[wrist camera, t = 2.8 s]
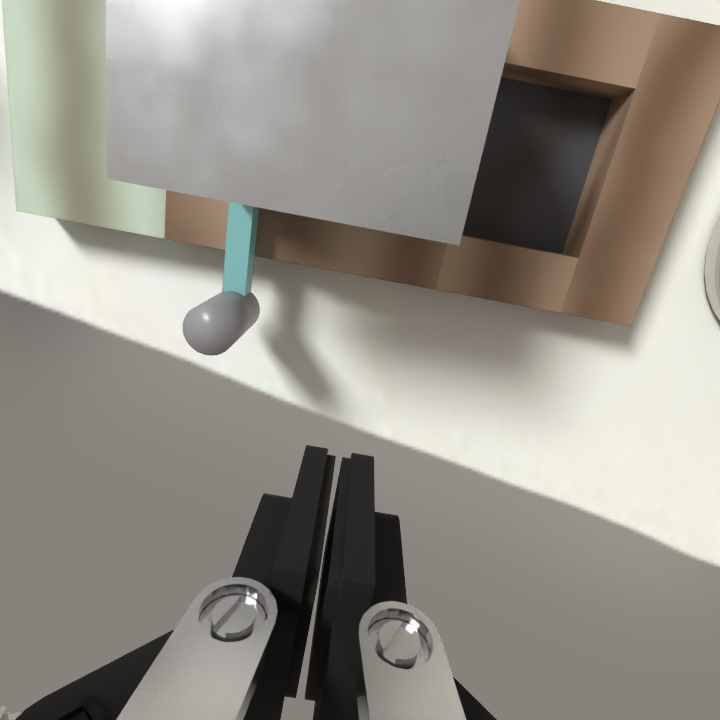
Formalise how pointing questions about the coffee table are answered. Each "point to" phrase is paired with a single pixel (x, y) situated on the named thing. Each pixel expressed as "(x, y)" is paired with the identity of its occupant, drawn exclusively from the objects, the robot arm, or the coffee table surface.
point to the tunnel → (309, 104)
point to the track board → (495, 174)
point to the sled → (228, 290)
